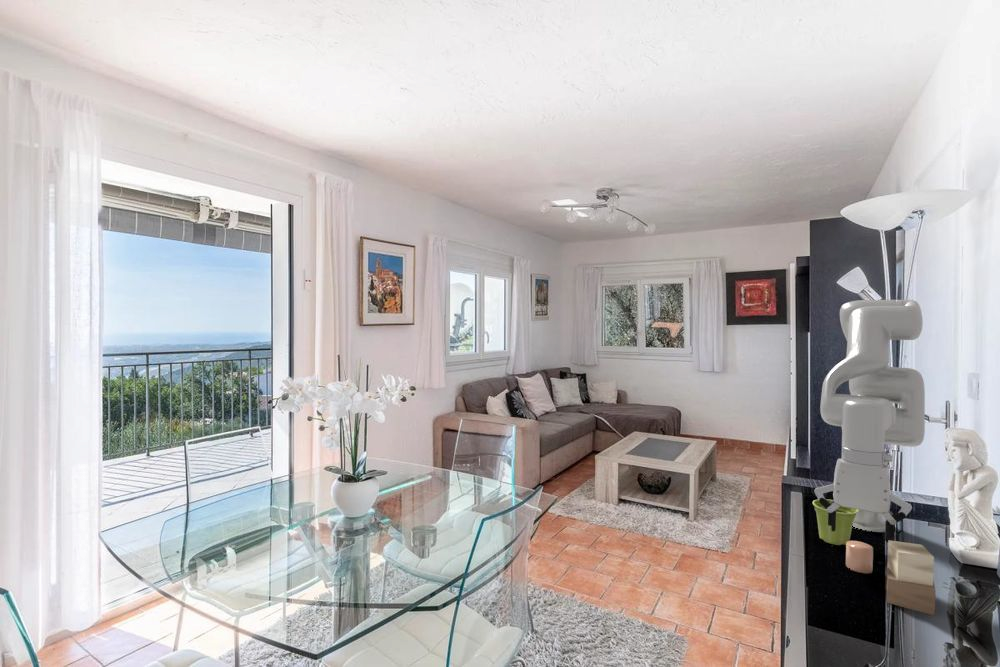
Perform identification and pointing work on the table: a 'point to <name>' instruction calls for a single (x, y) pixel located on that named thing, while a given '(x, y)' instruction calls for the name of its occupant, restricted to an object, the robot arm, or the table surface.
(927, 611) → the walnut block
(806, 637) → the table surface
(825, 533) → the plant pot
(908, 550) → the beech block
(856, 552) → the peach rounded solid
